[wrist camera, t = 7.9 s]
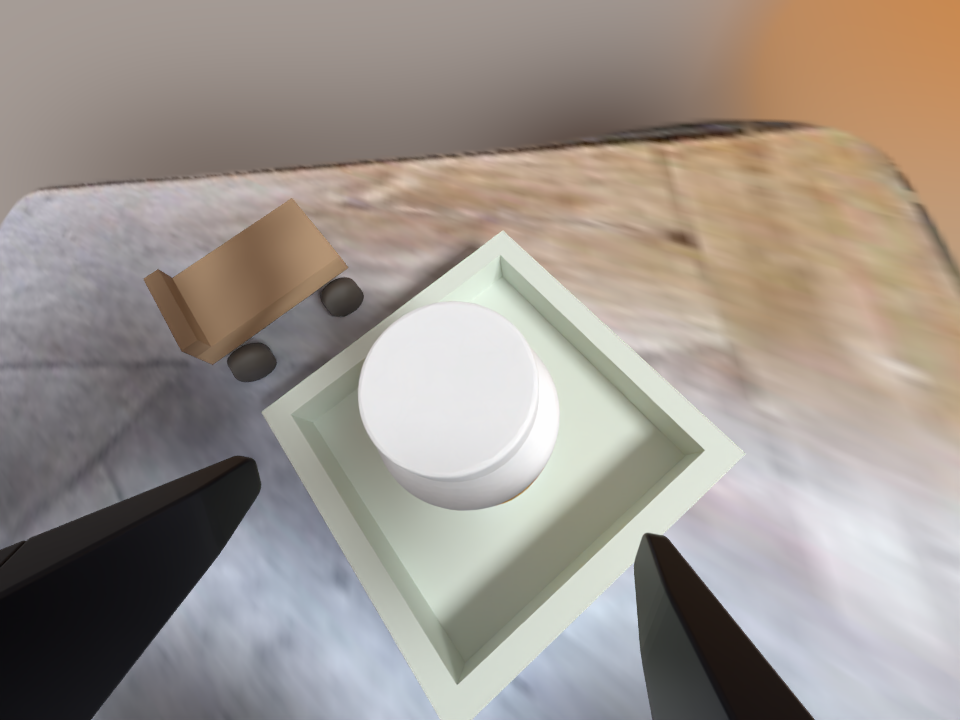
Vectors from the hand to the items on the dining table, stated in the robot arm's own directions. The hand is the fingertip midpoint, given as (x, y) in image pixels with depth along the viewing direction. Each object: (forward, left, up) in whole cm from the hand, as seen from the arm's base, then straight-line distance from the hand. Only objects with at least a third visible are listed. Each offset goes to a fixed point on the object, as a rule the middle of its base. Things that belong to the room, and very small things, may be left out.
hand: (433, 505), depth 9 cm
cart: (-2, +15, -9) cm, 18 cm away
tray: (+2, +2, -9) cm, 9 cm away
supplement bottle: (+2, +2, -9) cm, 9 cm away
